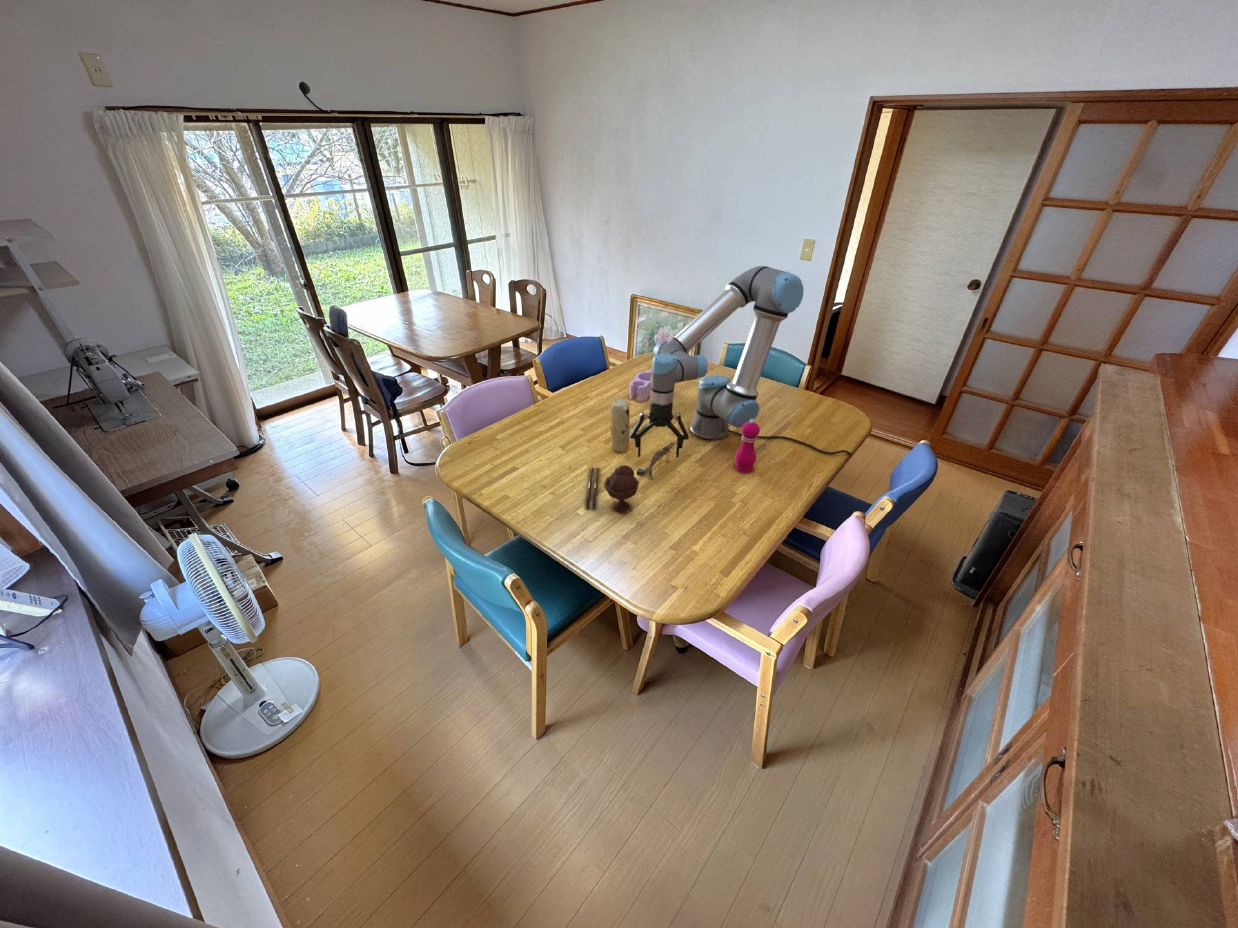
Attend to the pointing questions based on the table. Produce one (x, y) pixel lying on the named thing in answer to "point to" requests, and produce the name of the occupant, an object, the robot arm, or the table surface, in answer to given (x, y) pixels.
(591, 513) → the table surface
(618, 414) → the food model
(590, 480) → the chopsticks
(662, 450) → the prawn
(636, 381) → the clip
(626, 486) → the ice cream bowl
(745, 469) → the pepper mill
